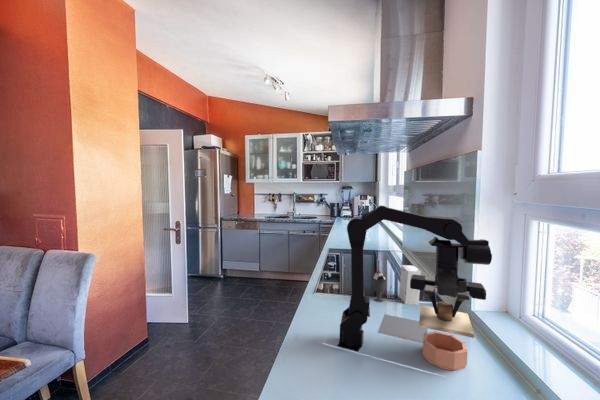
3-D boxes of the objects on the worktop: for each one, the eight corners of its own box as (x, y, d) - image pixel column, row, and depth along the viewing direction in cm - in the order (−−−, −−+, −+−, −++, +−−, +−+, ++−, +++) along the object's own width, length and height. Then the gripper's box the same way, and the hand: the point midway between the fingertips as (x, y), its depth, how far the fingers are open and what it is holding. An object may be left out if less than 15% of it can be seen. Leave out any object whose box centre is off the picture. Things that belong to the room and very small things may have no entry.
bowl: (422, 364, 78) (422, 346, 78) (423, 344, 88) (423, 328, 88) (467, 376, 73) (468, 357, 73) (463, 353, 83) (464, 337, 83)
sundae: (374, 296, 125) (375, 263, 125) (388, 300, 121) (390, 266, 120) (367, 301, 120) (368, 266, 119) (382, 305, 116) (383, 270, 115)
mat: (377, 333, 94) (377, 332, 94) (384, 315, 107) (384, 314, 107) (426, 345, 88) (426, 343, 88) (427, 324, 101) (427, 322, 101)
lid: (419, 326, 77) (419, 308, 77) (420, 308, 89) (421, 292, 89) (473, 337, 72) (474, 318, 72) (467, 316, 84) (468, 300, 84)
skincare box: (398, 297, 125) (400, 264, 124) (412, 297, 125) (413, 264, 124) (405, 305, 117) (407, 270, 116) (420, 305, 117) (421, 270, 116)
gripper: (409, 264, 76) (407, 320, 77) (491, 274, 68) (488, 336, 69) (412, 255, 86) (410, 305, 87) (483, 263, 79) (481, 317, 79)
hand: (444, 315), depth 80 cm, fingers closed on lid, 4 cm apart
